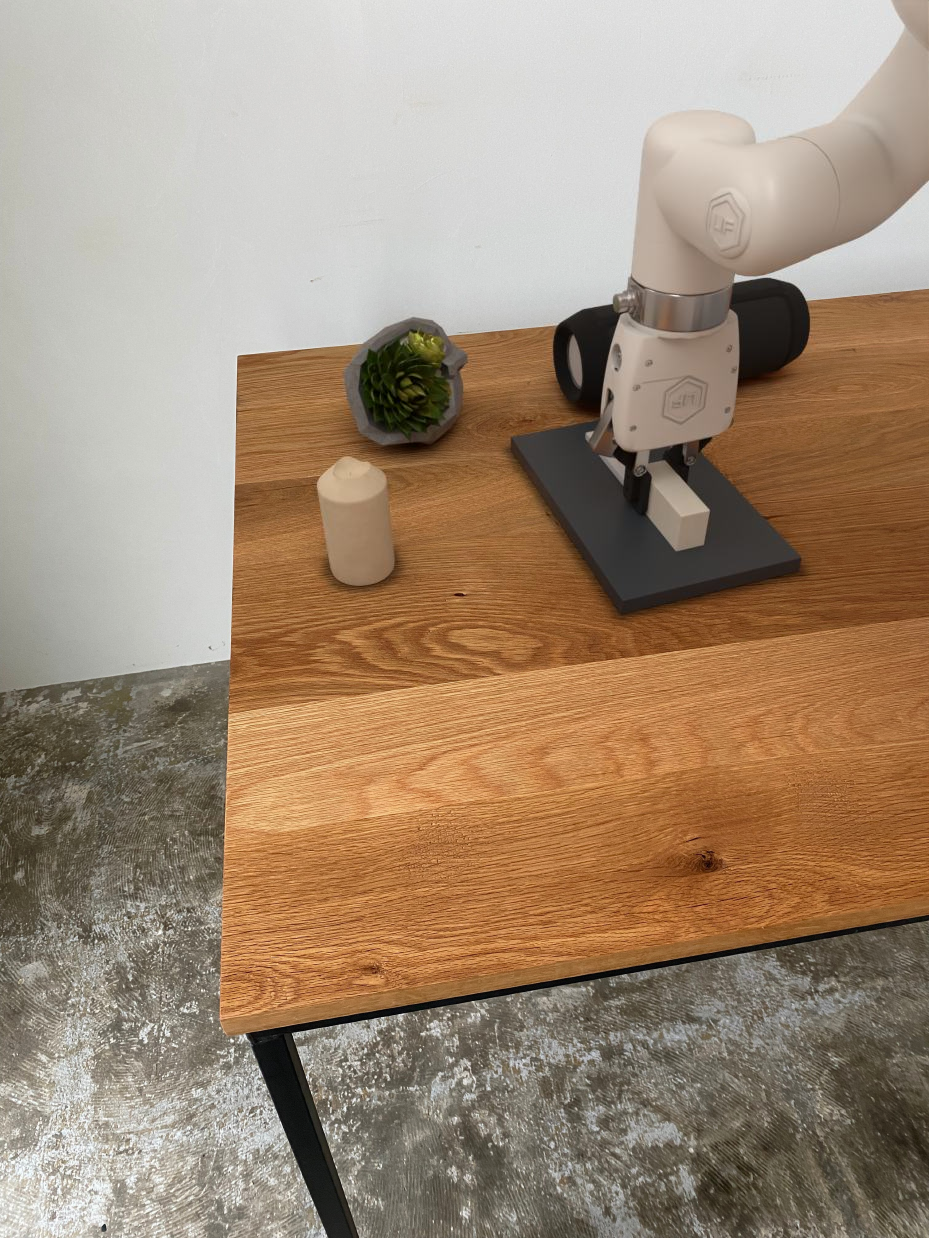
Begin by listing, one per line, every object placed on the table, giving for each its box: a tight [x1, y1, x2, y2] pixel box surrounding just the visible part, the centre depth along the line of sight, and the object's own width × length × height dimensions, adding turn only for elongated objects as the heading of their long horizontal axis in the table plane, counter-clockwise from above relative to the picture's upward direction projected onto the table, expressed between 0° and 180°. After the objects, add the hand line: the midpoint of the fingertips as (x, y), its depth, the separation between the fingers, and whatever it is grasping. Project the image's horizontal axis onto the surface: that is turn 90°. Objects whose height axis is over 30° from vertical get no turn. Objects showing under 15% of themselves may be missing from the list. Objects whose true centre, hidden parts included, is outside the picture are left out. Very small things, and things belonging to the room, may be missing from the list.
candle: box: [316, 455, 396, 587], centre depth 76 cm, size 6×6×10 cm
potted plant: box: [342, 316, 469, 446], centre depth 91 cm, size 12×13×15 cm
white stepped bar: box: [585, 431, 710, 551], centre depth 83 cm, size 19×3×4 cm, turn 18°
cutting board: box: [510, 419, 803, 615], centre depth 84 cm, size 16×26×2 cm, turn 18°
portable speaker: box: [552, 277, 811, 408], centre depth 98 cm, size 26×10×10 cm, turn 108°
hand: (653, 499), depth 82 cm, fingers closed on white stepped bar, 2 cm apart
